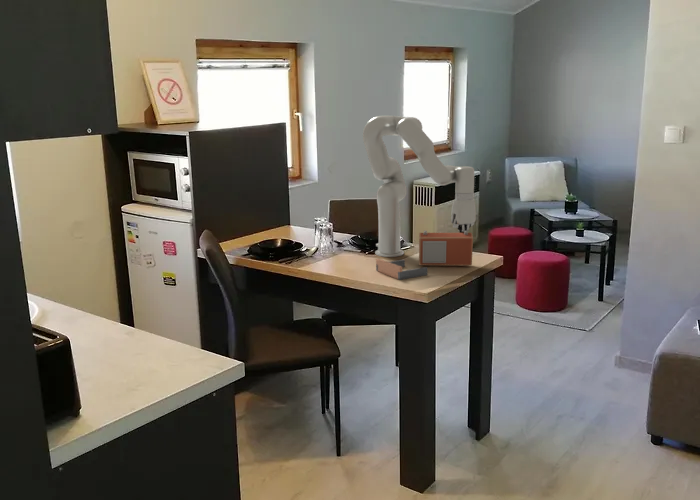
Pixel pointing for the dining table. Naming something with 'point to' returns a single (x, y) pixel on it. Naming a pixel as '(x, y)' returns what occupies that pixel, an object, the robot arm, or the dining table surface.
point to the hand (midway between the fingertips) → (463, 240)
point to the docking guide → (398, 269)
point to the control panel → (445, 248)
